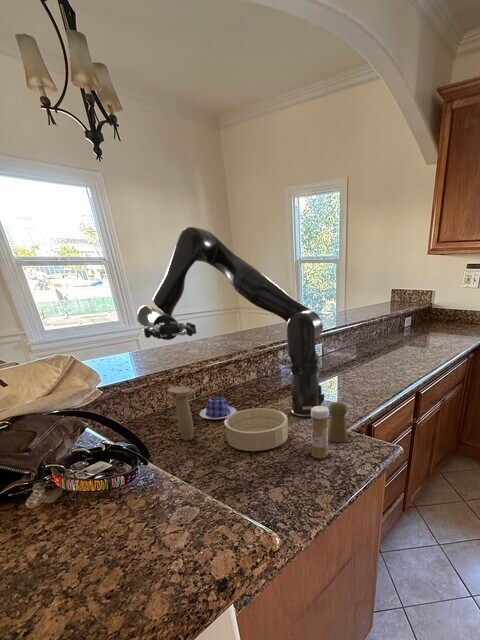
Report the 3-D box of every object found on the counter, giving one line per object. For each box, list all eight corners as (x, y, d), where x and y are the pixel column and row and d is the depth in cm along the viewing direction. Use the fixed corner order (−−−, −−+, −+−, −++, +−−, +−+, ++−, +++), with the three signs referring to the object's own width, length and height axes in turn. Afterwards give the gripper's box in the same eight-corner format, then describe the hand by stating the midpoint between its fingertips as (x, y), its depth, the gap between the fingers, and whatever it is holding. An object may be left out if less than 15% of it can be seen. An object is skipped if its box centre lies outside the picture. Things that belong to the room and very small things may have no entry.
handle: (193, 443, 100) (184, 393, 93) (173, 441, 101) (163, 391, 94) (202, 436, 104) (195, 388, 97) (183, 433, 105) (174, 385, 99)
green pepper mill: (349, 435, 106) (351, 400, 101) (344, 443, 101) (345, 408, 96) (330, 432, 108) (331, 398, 103) (324, 440, 102) (324, 405, 98)
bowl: (272, 421, 114) (271, 404, 112) (298, 442, 101) (298, 423, 98) (218, 434, 105) (216, 415, 103) (240, 459, 92) (238, 438, 90)
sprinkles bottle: (307, 455, 94) (307, 408, 89) (318, 449, 98) (319, 404, 92) (320, 461, 92) (320, 413, 86) (331, 454, 95) (332, 408, 89)
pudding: (241, 408, 124) (239, 394, 122) (229, 422, 113) (227, 407, 111) (208, 406, 125) (206, 392, 123) (193, 420, 114) (191, 405, 112)
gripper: (136, 314, 107) (145, 321, 95) (184, 312, 114) (198, 318, 102) (141, 339, 110) (150, 349, 98) (188, 335, 117) (202, 344, 105)
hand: (175, 333), depth 100 cm, fingers open, 8 cm apart
